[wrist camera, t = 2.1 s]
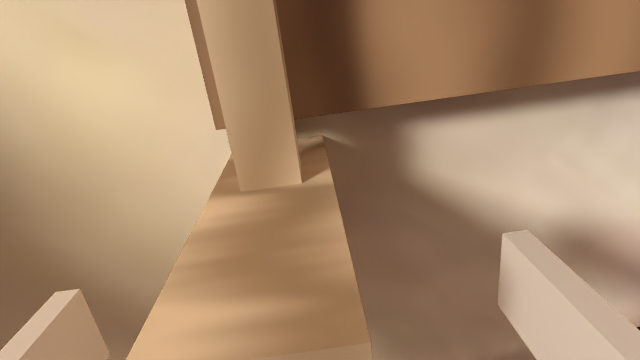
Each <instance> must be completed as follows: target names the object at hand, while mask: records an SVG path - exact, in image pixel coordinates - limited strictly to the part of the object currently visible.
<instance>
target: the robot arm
mask: <svg viewBox="0 0 640 360" xmlns="http://www.w3.org/2000/svg"><path fill="white" fill-rule="evenodd" d="M498 306H499V307H500V309H501V310H502V311H503V313H504V314H505V316H506V317H507V318H508V320H509V321H510V323H511V324H512V326H513V327H514V328H515V330H516V331H517V333H518V334H519V336H520V337H521V338H522V340H523V341H524V343H525V344H526V345H527V347H528V348H529V350H530V351H531V353H532V354H533V355H534V357H535V358H536V360H640V327H635V326H634V325H633V324H632V323H631V322H630V321H628V320H627V319H626V318H625V317H624V316H623V315H622V314H621V313H620V312H618V311H617V310H616V309H615V308H614V307H613V306H612V305H611V304H610V303H608V302H607V301H606V300H605V299H604V298H603V297H602V296H601V295H599V294H598V293H597V292H596V291H595V290H594V289H593V288H592V287H591V286H589V285H588V284H587V283H586V282H585V281H584V280H583V279H582V278H581V277H579V276H578V275H577V274H576V273H575V272H574V271H573V270H572V269H571V268H569V267H568V266H567V265H566V264H565V263H564V262H563V261H562V260H560V259H559V258H558V257H557V256H556V255H555V254H554V253H553V252H552V251H550V250H549V249H548V248H547V247H546V246H545V245H544V244H543V243H542V242H540V241H539V240H538V239H537V238H536V237H535V236H534V235H533V234H532V233H530V232H529V231H528V230H522V231H514V232H507V233H502V246H501V260H500V275H499V289H498ZM109 356H110V353H109V351H108V348H107V346H106V344H105V342H104V340H103V338H102V335H101V333H100V331H99V329H98V327H97V325H96V322H95V320H94V318H93V316H92V314H91V312H90V309H89V307H88V305H87V303H86V301H85V299H84V296H83V294H82V292H81V290H80V289H74V290H66V291H59V292H55V293H54V294H53V295H52V296H51V297H50V298H49V299H48V300H47V302H46V303H45V304H44V305H43V306H42V307H41V308H40V309H39V310H38V311H37V312H36V313H35V314H34V315H33V316H32V317H31V319H30V320H29V321H28V322H27V323H26V324H25V325H24V326H23V327H22V328H21V329H20V330H19V331H18V332H17V333H16V334H15V336H14V337H13V338H12V339H11V340H10V341H9V342H8V343H7V344H6V345H5V346H4V347H3V348H2V349H1V350H0V360H107V359H108V358H109Z"/></svg>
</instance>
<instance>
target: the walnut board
mask: <svg viewBox="0 0 640 360" xmlns="http://www.w3.org/2000/svg"><path fill="white" fill-rule="evenodd" d="M275 2H276V8H277V14H278V21H279V27H280V34H281V40H282V46H283V53H284V59H285V65H286V72H287V78H288V85H289V91H290V97H291V104H292V110H293V117H294V119H298V118H305V117H313V116H320V115H327V114H334V113H341V112H349V111H356V110H363V109H370V108H377V107H384V106H392V105H399V104H406V103H413V102H420V101H428V100H435V99H442V98H449V97H456V96H464V95H471V94H478V93H485V92H492V91H499V90H507V89H514V88H521V87H528V86H535V85H543V84H550V83H557V82H564V81H571V80H579V79H586V78H593V77H600V76H607V75H614V74H622V73H629V72H636V71H640V0H275ZM185 3H186V8H187V12H188V16H189V20H190V24H191V28H192V32H193V36H194V41H195V45H196V49H197V53H198V57H199V61H200V65H201V70H202V74H203V78H204V82H205V86H206V90H207V94H208V98H209V103H210V107H211V111H212V115H213V119H214V123H215V127H216V130H219V129H226V126H225V122H224V117H223V113H222V109H221V104H220V100H219V96H218V91H217V87H216V83H215V78H214V74H213V70H212V65H211V61H210V57H209V52H208V48H207V44H206V39H205V35H204V31H203V26H202V22H201V18H200V13H199V9H198V5H197V0H185Z"/></svg>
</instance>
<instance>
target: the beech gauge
mask: <svg viewBox="0 0 640 360" xmlns="http://www.w3.org/2000/svg"><path fill="white" fill-rule="evenodd" d="M197 5H198V9H199V13H200V18H201V22H202V26H203V31H204V35H205V39H206V44H207V48H208V52H209V57H210V61H211V65H212V70H213V74H214V78H215V83H216V87H217V91H218V96H219V100H220V104H221V109H222V113H223V117H224V122H225V126H226V130H227V135H228V139H229V143H230V148H231V152H232V154H231V156H230V158H229V160H228V162H227V164H226V166H225V168H224V170H223V172H222V174H221V176H220V178H219V180H218V182H217V184H216V186H215V187H214V189H213V191H212V193H211V195H210V197H209V199H208V201H207V203H206V205H205V207H204V209H203V211H202V213H201V215H200V217H199V219H198V221H197V222H196V224H195V226H194V228H193V230H192V232H191V234H190V236H189V238H188V240H187V242H186V244H185V246H184V248H183V250H182V252H181V254H180V255H179V257H178V259H177V261H176V263H175V265H174V267H173V269H172V271H171V273H170V275H169V277H168V279H167V281H166V283H165V285H164V287H163V288H162V290H161V292H160V294H159V296H158V298H157V300H156V302H155V304H154V306H153V308H152V310H151V312H150V314H149V316H148V318H147V320H146V321H145V323H144V325H143V327H142V329H141V331H140V333H139V335H138V337H137V339H136V341H135V343H134V345H133V347H132V349H131V351H130V353H129V355H128V356H127V358H126V360H373V357H372V347H371V340H370V336H369V332H368V328H367V323H366V319H365V315H364V311H363V306H362V302H361V298H360V294H359V289H358V285H357V281H356V277H355V272H354V268H353V264H352V260H351V255H350V251H349V247H348V243H347V238H346V234H345V230H344V226H343V221H342V217H341V213H340V209H339V204H338V200H337V196H336V192H335V187H334V183H333V179H332V175H331V170H330V166H329V162H328V158H327V153H326V149H325V145H324V141H323V136H315V137H308V138H300V139H297V136H296V129H295V123H294V117H293V110H292V104H291V97H290V91H289V85H288V78H287V72H286V65H285V59H284V53H283V46H282V40H281V34H280V27H279V21H278V14H277V8H276V2H275V0H197Z"/></svg>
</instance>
